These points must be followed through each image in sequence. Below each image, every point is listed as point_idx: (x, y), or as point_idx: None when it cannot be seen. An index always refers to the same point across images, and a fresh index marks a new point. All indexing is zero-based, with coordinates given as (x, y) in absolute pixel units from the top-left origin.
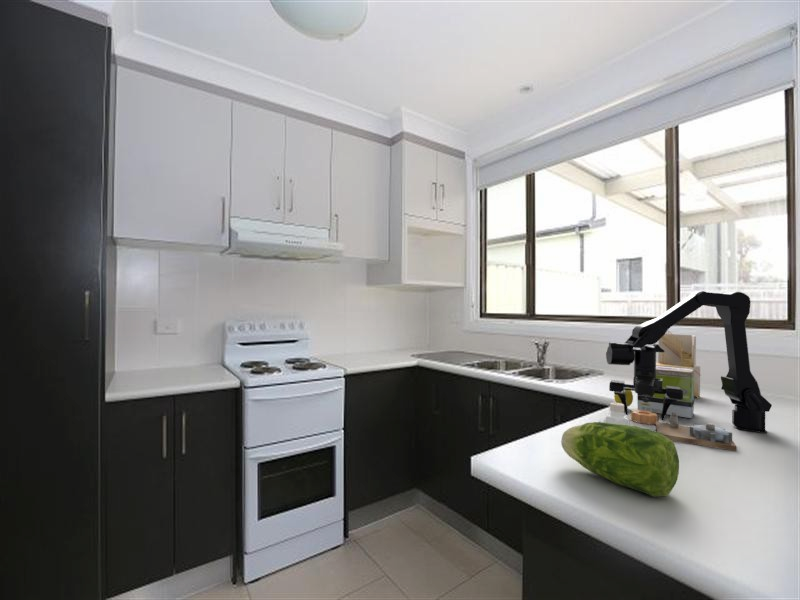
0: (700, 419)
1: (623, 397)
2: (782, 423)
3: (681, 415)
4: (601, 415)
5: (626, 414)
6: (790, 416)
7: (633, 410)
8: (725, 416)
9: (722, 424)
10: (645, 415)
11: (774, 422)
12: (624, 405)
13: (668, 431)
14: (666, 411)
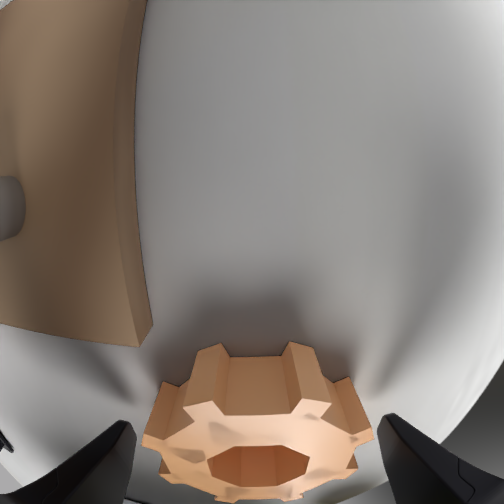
0: None
1: (495, 502)
2: (2, 461)
3: None
4: (494, 347)
5: (392, 415)
6: None
7: (339, 476)
8: None
9: (21, 446)
10: (243, 413)
11: (9, 466)
12: (443, 459)
13: (53, 30)
14: (64, 463)
